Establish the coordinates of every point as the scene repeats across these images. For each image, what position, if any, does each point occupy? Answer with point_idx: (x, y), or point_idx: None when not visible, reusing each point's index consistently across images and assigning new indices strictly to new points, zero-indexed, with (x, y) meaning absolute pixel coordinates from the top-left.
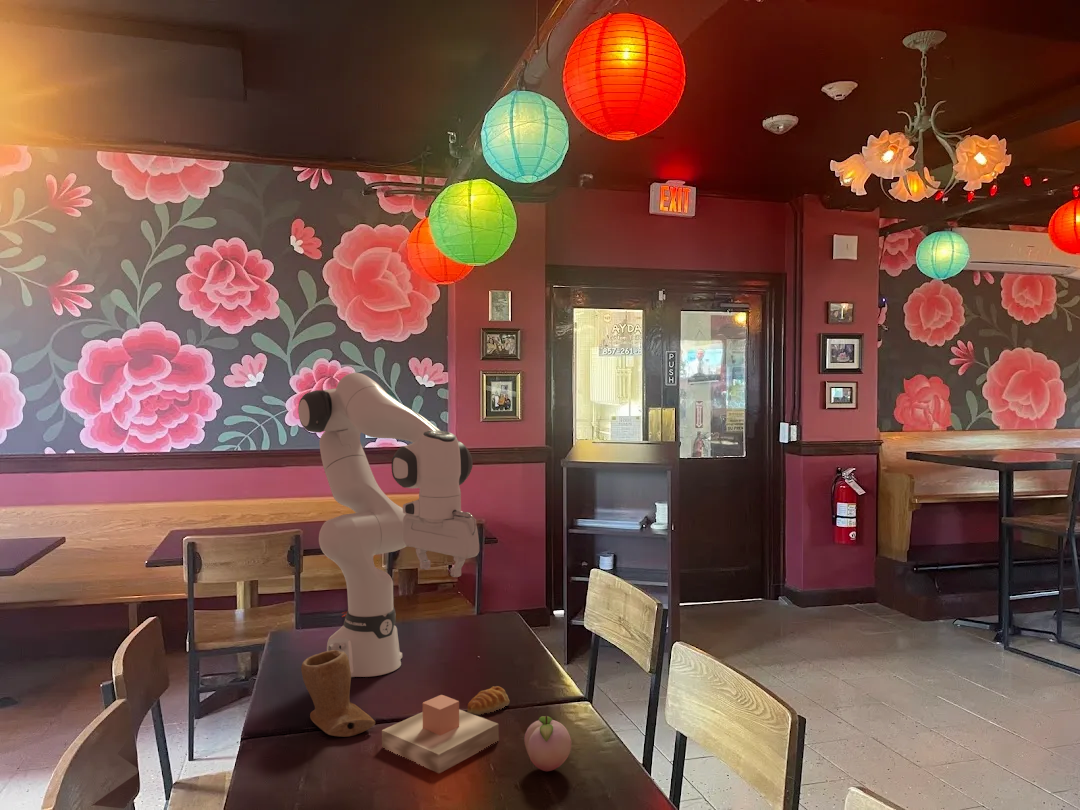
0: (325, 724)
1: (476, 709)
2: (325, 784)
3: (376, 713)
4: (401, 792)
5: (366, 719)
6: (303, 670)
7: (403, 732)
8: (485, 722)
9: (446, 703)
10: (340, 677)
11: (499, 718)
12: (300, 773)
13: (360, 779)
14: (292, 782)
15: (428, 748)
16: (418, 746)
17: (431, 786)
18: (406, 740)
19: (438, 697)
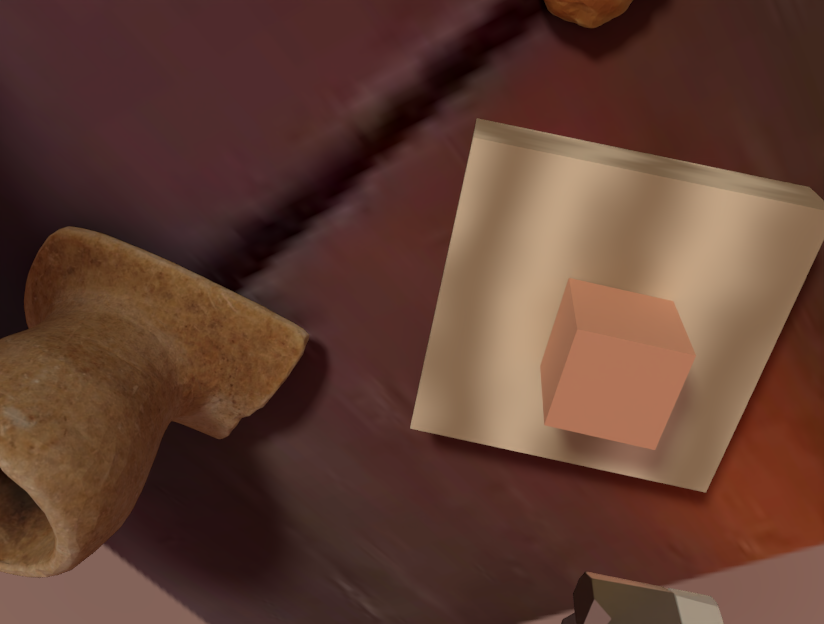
0: (180, 422)
1: (608, 19)
2: (420, 586)
3: (197, 191)
4: (639, 557)
5: (288, 370)
6: None
7: (493, 416)
8: (770, 226)
9: (650, 394)
10: (135, 493)
11: None
12: (318, 569)
13: (488, 544)
14: (337, 602)
15: (648, 473)
16: (603, 468)
17: (706, 511)
18: (541, 455)
19: (581, 359)
